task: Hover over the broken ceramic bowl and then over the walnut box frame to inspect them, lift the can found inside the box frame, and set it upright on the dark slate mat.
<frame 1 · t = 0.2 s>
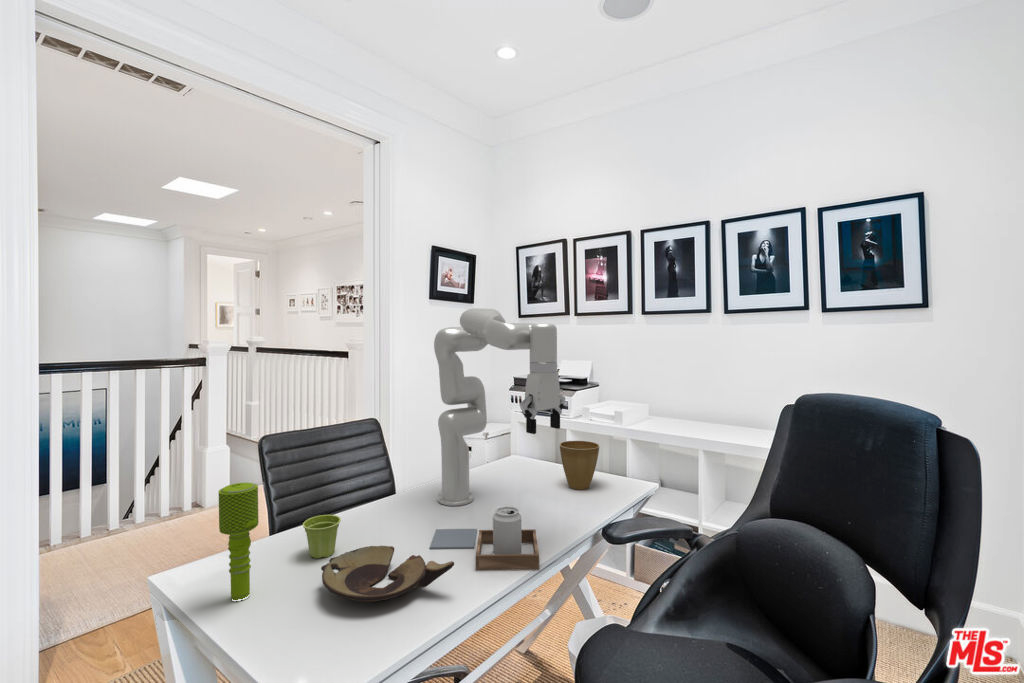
hand: (543, 430, 134), 31 cm above the table, tool pointing down, fingers open, 9 cm apart
can: (507, 556, 127), resting in box frame
plant pot 2: (322, 554, 129), on the table
broken ceramic bowl: (383, 592, 110), on the table
box frame: (507, 555, 127), on the table
mat: (454, 539, 137), on the table
plant pot: (579, 487, 183), on the table
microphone: (241, 598, 108), on the table
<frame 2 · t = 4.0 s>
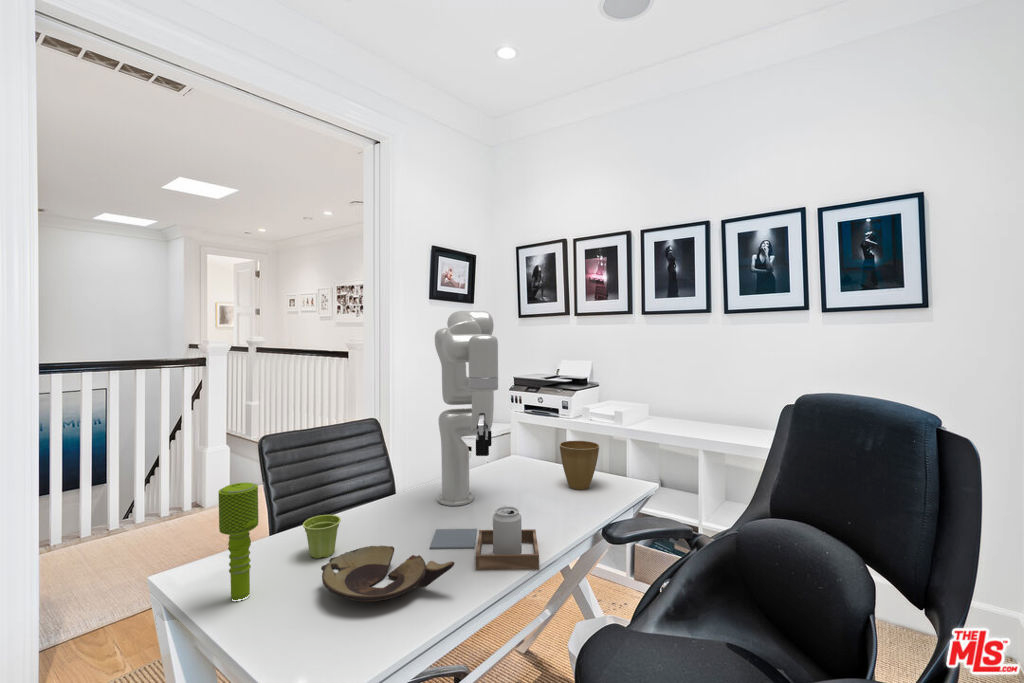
hand: (483, 450, 124), 28 cm above the table, tool pointing down, fingers open, 9 cm apart
nothing on the table moved.
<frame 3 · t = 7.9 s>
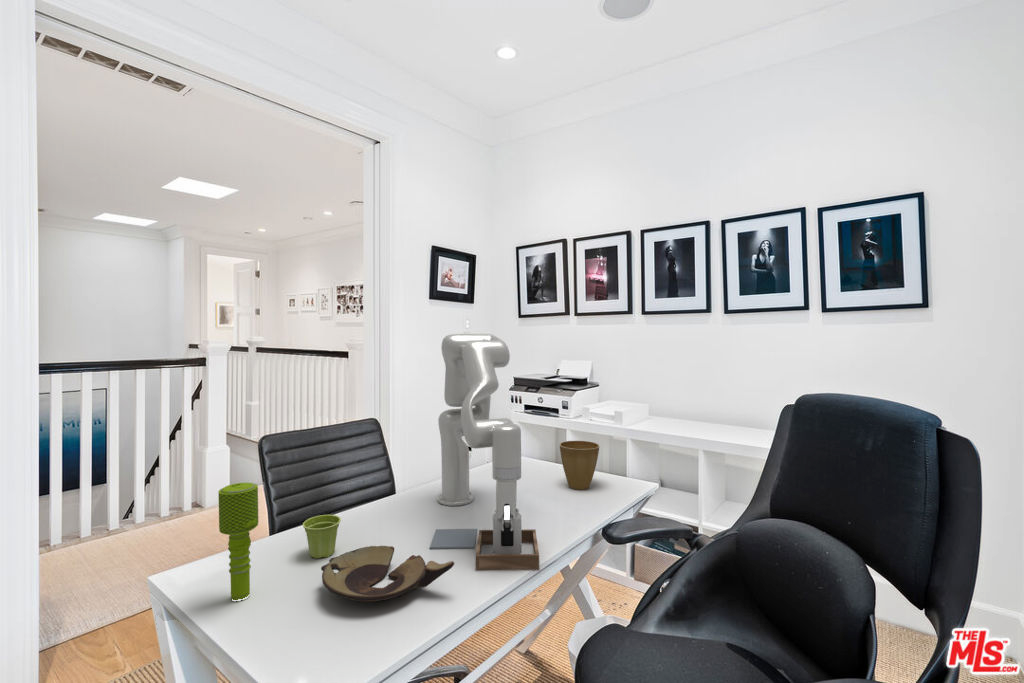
hand: (507, 538, 127), 4 cm above the table, tool pointing down, fingers closed on can, 7 cm apart
can: (507, 556, 127), resting in box frame, touching gripper
everything else where it was.
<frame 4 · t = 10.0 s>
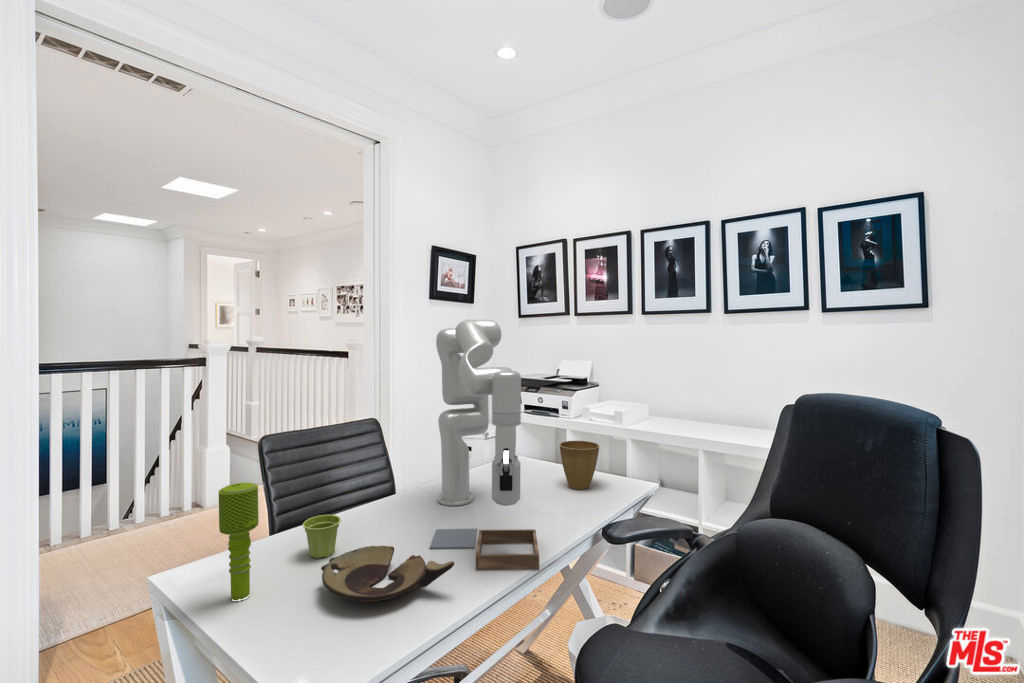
hand: (506, 484, 127), 18 cm above the table, tool pointing down, fingers closed on can, 7 cm apart
can: (506, 502, 128), point 14 cm above the table, touching gripper
everything else where it was.
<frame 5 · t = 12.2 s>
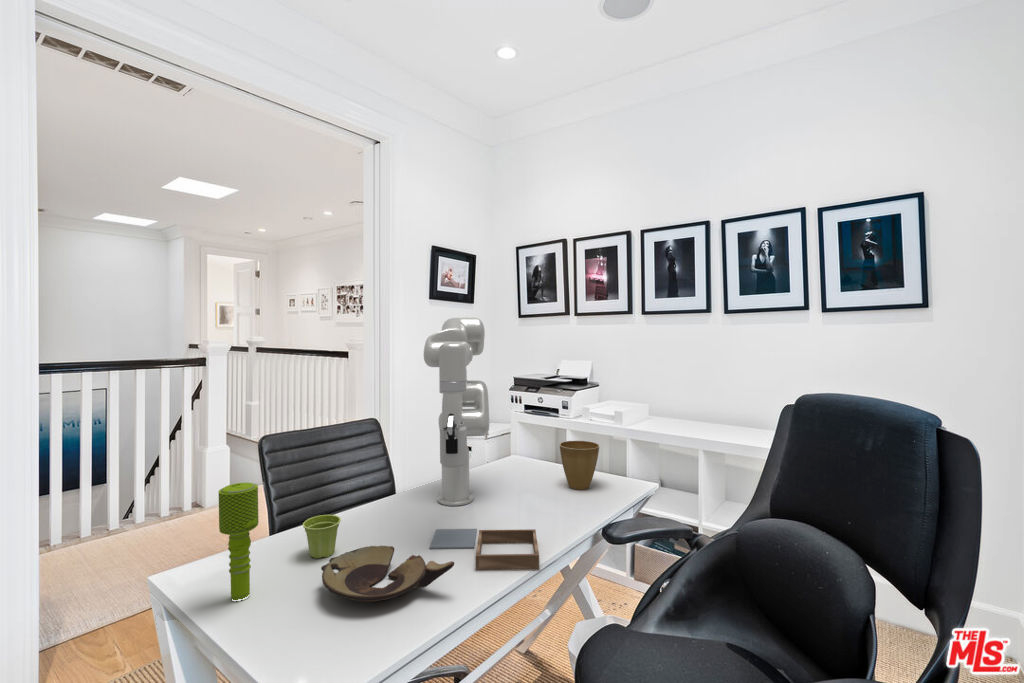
hand: (453, 449, 137), 26 cm above the table, tool pointing down, fingers closed on can, 7 cm apart
can: (453, 465, 137), point 21 cm above the table, touching gripper
everything else where it was.
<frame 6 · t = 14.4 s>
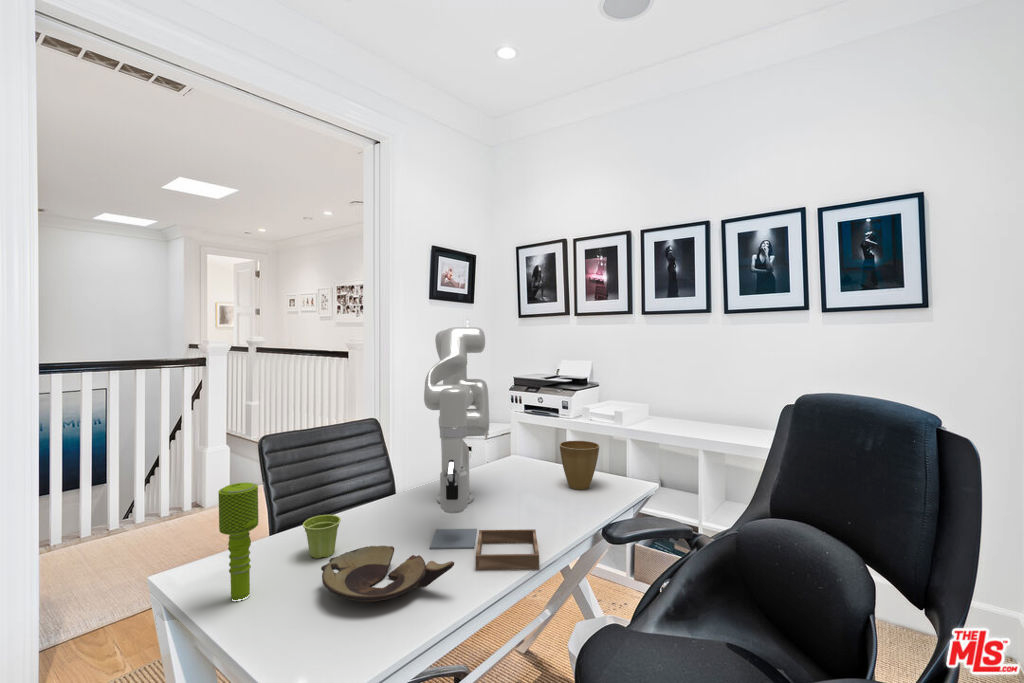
hand: (453, 494, 137), 13 cm above the table, tool pointing down, fingers closed on can, 7 cm apart
can: (453, 510, 137), point 8 cm above the table, touching gripper
everything else where it was.
when the fingers open (6 cm above the table, at t = 16.4 s): can drops 1 cm, resting on mat.
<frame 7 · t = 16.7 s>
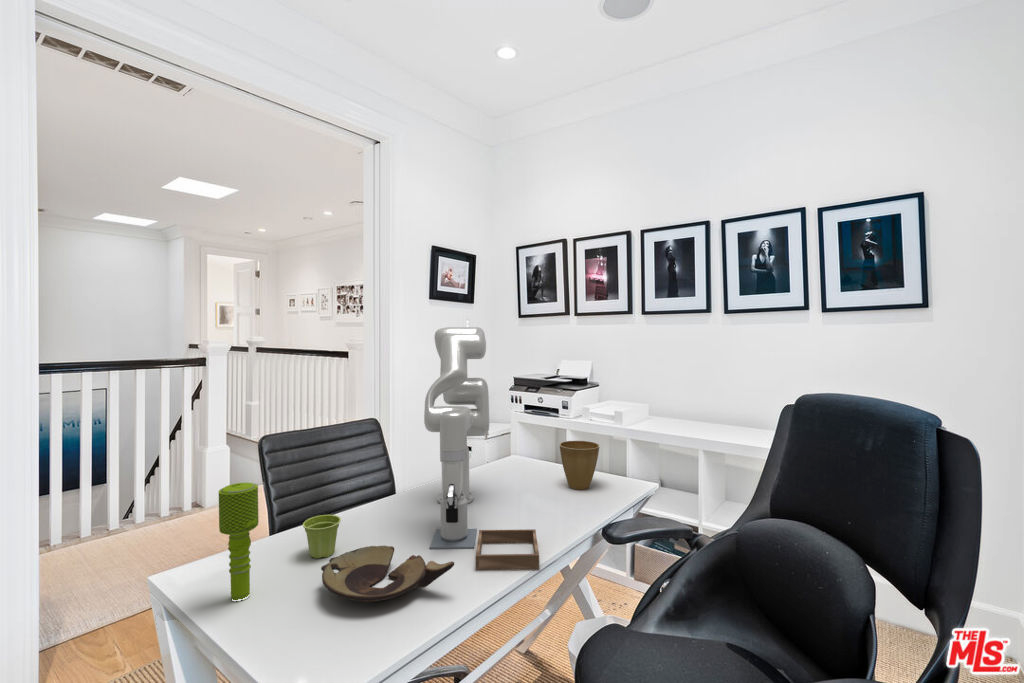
hand: (454, 515, 137), 7 cm above the table, tool pointing down, fingers open, 9 cm apart
can: (454, 537, 138), resting on mat
everything else where it was.
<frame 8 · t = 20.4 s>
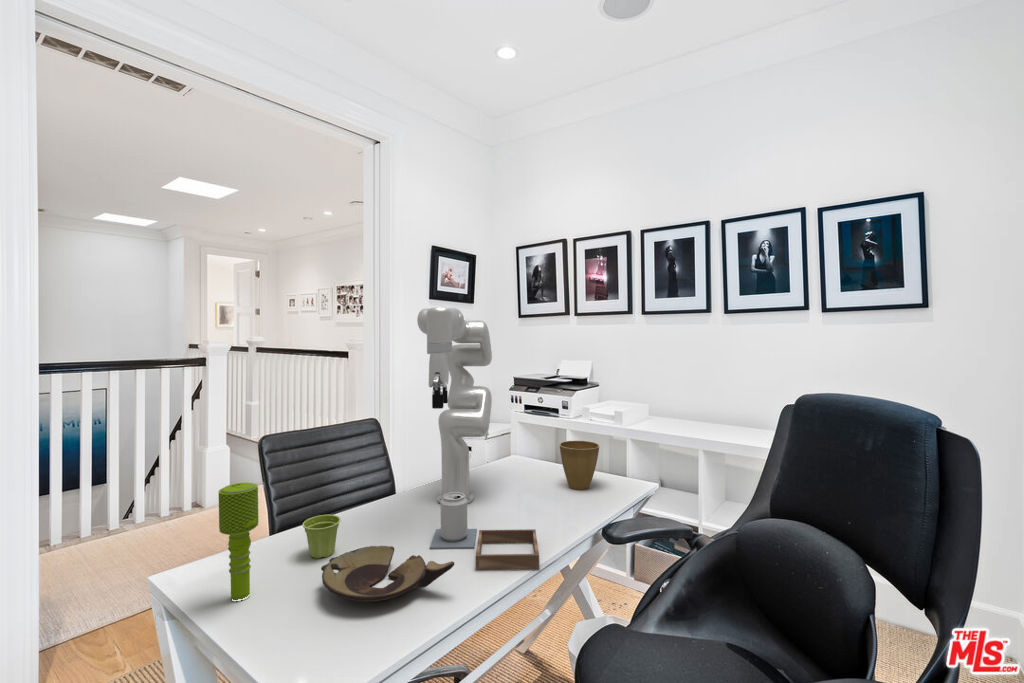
hand: (440, 405, 146), 36 cm above the table, tool pointing down, fingers open, 9 cm apart
nothing on the table moved.
at the end: can 0.3 cm from the mat (horizontally); can tilted 0°; the gripper is holding nothing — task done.
